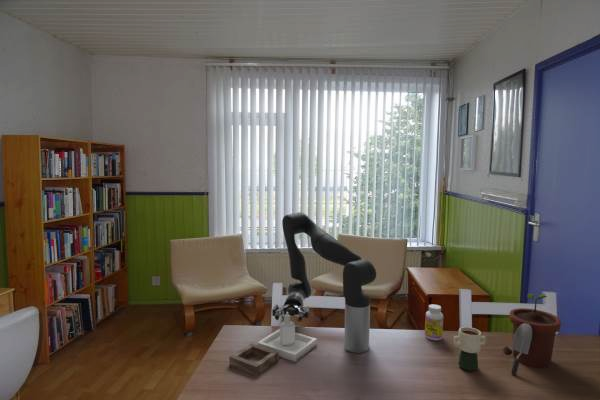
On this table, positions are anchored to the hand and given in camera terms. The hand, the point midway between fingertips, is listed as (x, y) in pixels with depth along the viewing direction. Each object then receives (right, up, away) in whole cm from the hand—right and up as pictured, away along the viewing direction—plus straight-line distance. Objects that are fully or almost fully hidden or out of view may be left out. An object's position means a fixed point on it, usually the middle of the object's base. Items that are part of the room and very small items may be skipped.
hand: (288, 318), depth 151 cm
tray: (0, -11, 0) cm, 11 cm away
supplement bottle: (+58, -10, +9) cm, 59 cm away
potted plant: (+84, -12, -10) cm, 86 cm away
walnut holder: (-11, -12, -12) cm, 20 cm away
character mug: (+62, -13, -14) cm, 65 cm away
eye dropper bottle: (0, -10, 0) cm, 10 cm away
